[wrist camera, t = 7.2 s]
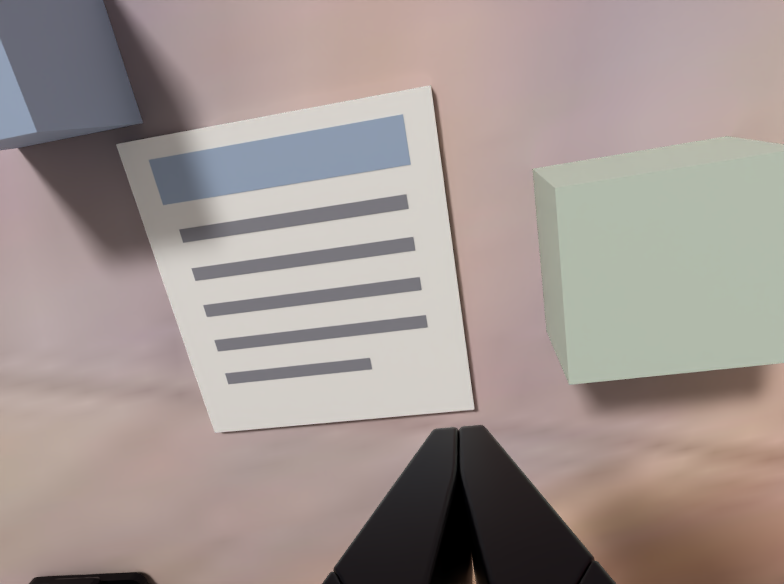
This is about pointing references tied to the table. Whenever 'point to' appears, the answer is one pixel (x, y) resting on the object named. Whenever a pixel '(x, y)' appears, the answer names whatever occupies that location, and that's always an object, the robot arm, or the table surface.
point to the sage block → (664, 259)
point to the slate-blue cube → (60, 72)
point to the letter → (309, 262)
